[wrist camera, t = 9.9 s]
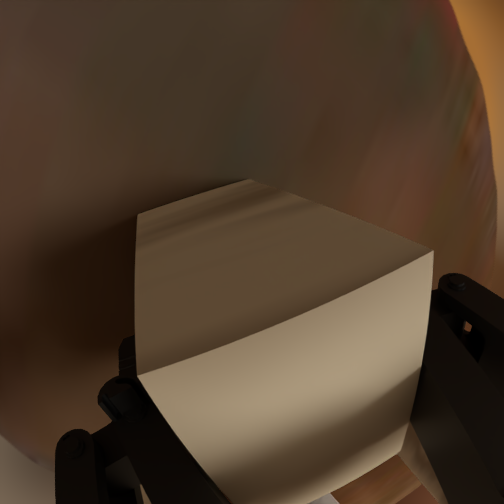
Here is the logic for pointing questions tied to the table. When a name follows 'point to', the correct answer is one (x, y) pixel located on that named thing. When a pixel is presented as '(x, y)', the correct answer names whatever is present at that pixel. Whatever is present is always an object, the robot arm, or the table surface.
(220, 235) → the squeegee
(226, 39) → the table surface
